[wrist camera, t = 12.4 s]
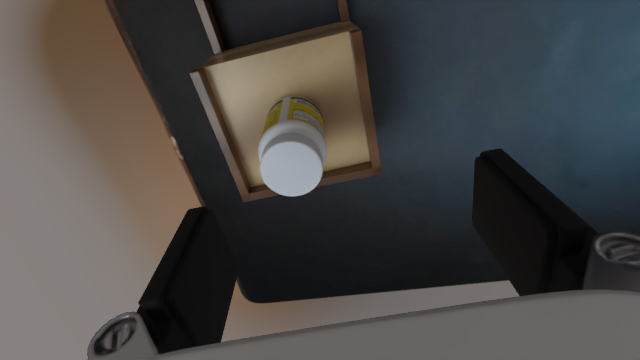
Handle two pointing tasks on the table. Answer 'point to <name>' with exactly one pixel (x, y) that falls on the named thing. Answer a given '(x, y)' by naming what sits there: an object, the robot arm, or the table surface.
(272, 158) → the supplement bottle
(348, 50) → the shelf rack
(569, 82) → the table surface
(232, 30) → the table surface
